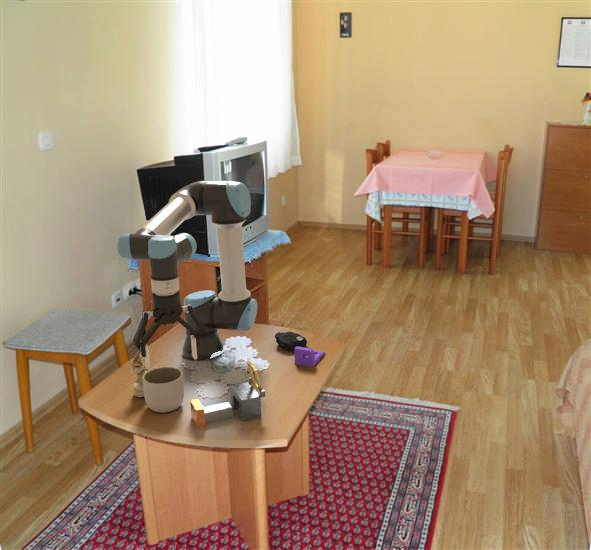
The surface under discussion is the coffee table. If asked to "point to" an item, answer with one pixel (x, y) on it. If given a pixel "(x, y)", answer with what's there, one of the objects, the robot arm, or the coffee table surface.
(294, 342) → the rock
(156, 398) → the planter
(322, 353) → the bracket
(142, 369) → the figurine
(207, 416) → the orange drawer
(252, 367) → the keeper
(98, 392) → the coffee table surface
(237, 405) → the block
